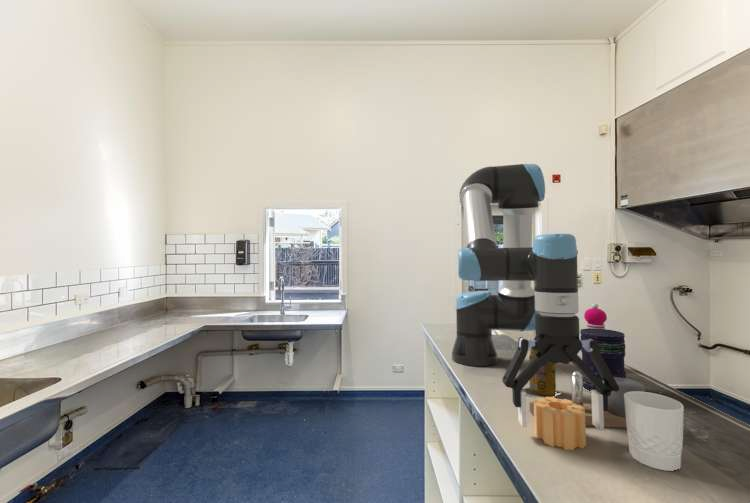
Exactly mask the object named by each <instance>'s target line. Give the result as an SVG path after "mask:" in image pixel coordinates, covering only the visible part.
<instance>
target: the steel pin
mask: <svg viewBox="0 0 750 503" xmlns="http://www.w3.org/2000/svg"><path fill="white" fill-rule="evenodd" d="M583 392H584V389H583V382H582V374H581V371H577V370H575V371H573V372H572V373H571V401H573V403H575V404H576V405H581V406H582V407H583V404H584V393H583Z"/></svg>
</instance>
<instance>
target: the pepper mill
mask: <svg viewBox="0 0 750 503" xmlns="http://www.w3.org/2000/svg"><path fill="white" fill-rule="evenodd" d="M583 316H584V317H583V318H584V319H585V321H586V322H587V323H586V324H585V325H586V326H585V327H586V329H606V325H605V324H604V323H606V322H607V318H608V317H607V313H606V312H605V311H604V310H603V309H601V308H599V304H598V303H592V304H591V308H588V309H586V310H585V312H584V315H583Z"/></svg>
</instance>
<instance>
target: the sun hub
mask: <svg viewBox="0 0 750 503" xmlns="http://www.w3.org/2000/svg"><path fill="white" fill-rule="evenodd" d="M614 379H615V381H616V383H617V384H618V386H619V391H612V392H611V395H610V396H608V410H607V412H609V413H611V414H613V415H616V416H619V417H623V418H626V416H625V404H624V394H625V393H626V392H631V391H641V392H645V386H644V384H643V383H642V382H639V381H637V380H634V379H630V378H627V377H626V378H620V377H614ZM603 383H604V381H603Z"/></svg>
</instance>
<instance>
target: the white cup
mask: <svg viewBox="0 0 750 503" xmlns="http://www.w3.org/2000/svg"><path fill="white" fill-rule="evenodd" d="M624 404H625V416H626V425H627V428H626V433H627V438H628V450H629V451H628V452H629V454H630V456H631V457H632V458H633V459H634V460H636V461H637V462H639V463H640V464H642V465H645V466H647V467H649V468H653V469H656V470H660V471H666V472H675V471H674V470H676V471H678V470H677V469H679V470H680V469H681V468H682V452H683V444H684V410H685V409H684V404H683V403H681V401H678V400H677V399H674V398H672V397H669V396H666V395H662V394H659V393H654V392H649V391H648V392H647V391H644V392H641V391H631V392H626V393H625V394H624Z"/></svg>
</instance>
